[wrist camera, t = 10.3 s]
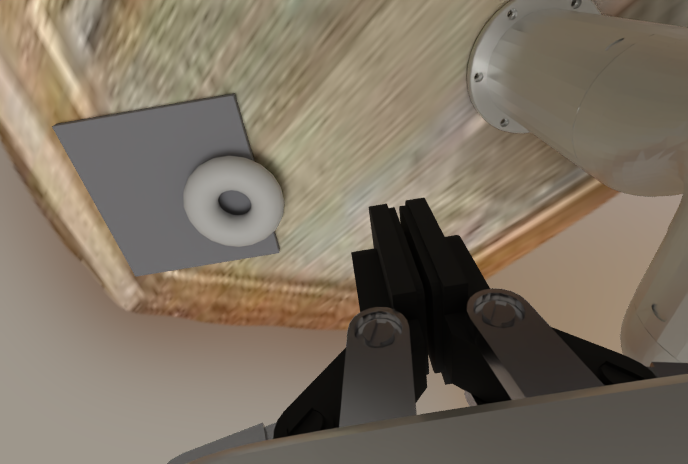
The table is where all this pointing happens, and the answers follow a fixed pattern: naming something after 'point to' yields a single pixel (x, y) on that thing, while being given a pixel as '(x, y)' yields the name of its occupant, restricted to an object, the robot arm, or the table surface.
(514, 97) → the robot arm
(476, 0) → the table surface
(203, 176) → the donut
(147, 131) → the mat
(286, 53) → the table surface
